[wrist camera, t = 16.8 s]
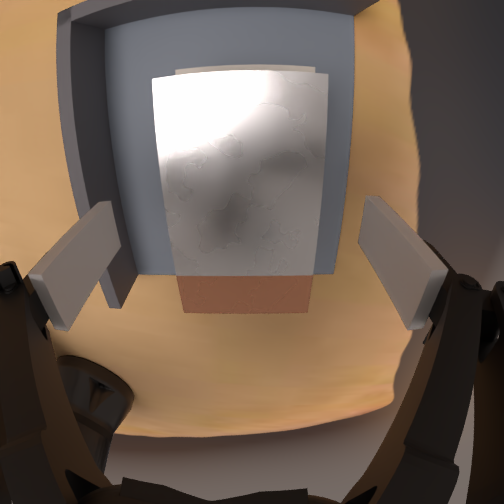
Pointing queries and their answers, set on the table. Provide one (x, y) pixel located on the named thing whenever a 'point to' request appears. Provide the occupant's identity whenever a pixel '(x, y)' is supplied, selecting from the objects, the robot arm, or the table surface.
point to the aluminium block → (242, 185)
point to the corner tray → (179, 63)
